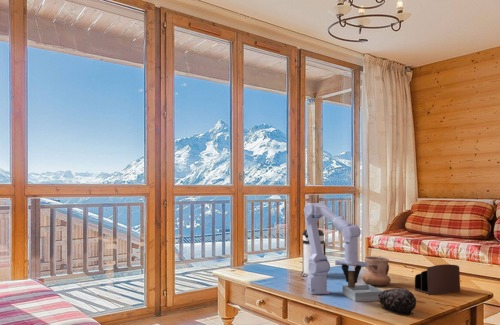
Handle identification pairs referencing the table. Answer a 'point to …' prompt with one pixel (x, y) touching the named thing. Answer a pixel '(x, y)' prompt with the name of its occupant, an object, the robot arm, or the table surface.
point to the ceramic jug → (377, 271)
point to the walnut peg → (351, 279)
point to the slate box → (362, 293)
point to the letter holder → (438, 280)
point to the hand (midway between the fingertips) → (351, 282)
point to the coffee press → (307, 250)
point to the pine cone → (398, 301)
